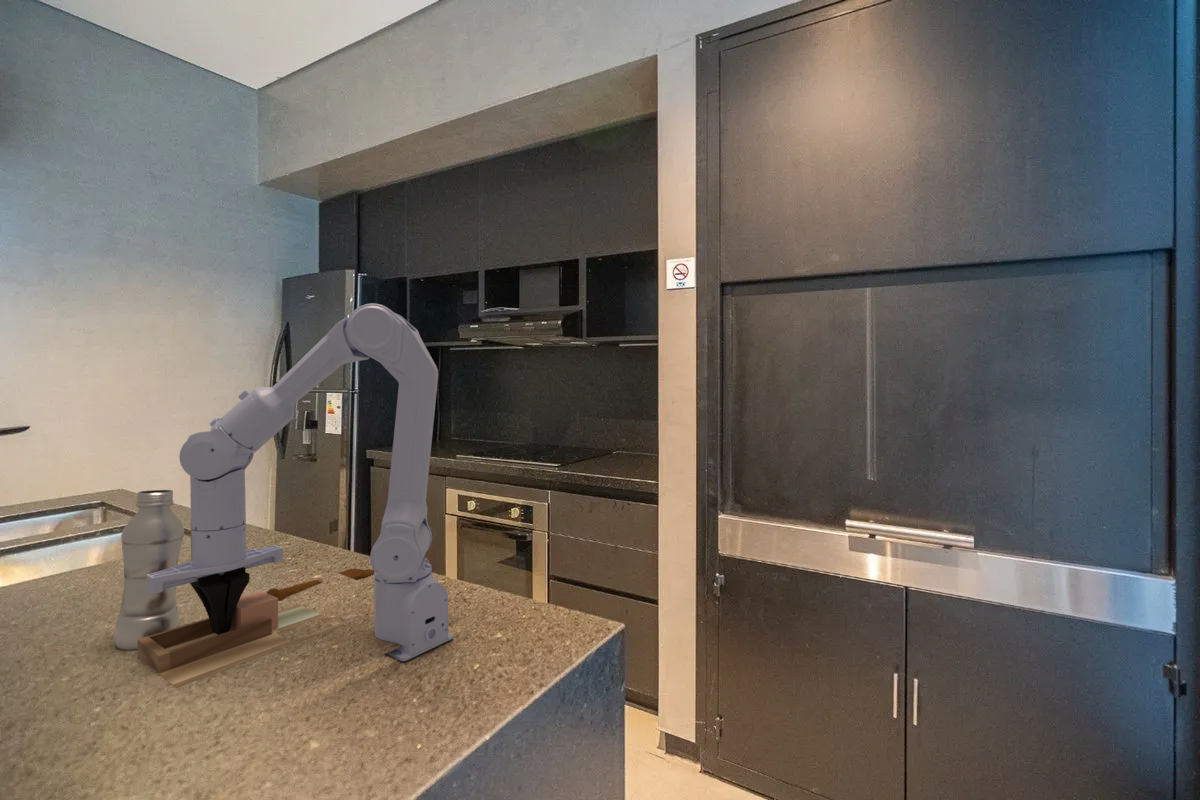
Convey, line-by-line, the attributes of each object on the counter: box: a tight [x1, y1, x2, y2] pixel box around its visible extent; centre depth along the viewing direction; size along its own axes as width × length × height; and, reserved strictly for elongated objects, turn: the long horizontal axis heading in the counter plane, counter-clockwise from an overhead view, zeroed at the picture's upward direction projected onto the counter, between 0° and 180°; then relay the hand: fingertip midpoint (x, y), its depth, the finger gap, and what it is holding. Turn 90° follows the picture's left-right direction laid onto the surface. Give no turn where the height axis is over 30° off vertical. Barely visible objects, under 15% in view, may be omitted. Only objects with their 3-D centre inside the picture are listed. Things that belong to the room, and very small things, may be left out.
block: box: [230, 590, 279, 631], centre depth 74 cm, size 4×4×4 cm
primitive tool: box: [266, 568, 375, 602], centre depth 93 cm, size 19×6×4 cm, turn 160°
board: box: [137, 604, 344, 689], centre depth 71 cm, size 12×19×4 cm, turn 145°
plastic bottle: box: [113, 489, 185, 651], centre depth 72 cm, size 6×7×20 cm
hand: (221, 631), depth 71 cm, fingers closed
